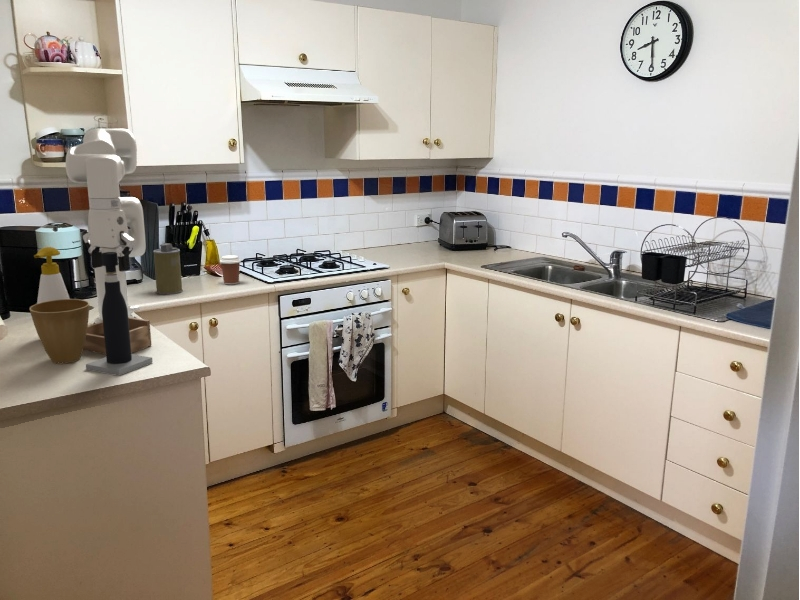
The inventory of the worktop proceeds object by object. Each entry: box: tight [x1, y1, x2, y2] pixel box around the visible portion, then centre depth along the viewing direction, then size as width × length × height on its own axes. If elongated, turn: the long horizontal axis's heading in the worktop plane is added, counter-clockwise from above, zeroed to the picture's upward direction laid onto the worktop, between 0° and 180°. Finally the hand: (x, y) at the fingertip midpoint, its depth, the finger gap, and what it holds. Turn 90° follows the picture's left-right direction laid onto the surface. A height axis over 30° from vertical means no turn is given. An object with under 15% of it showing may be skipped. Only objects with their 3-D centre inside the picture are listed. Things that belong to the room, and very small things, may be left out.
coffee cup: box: [219, 254, 242, 285], centre depth 290 cm, size 9×9×12 cm
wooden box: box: [83, 317, 152, 355], centre depth 197 cm, size 12×16×8 cm
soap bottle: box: [33, 246, 71, 304], centre depth 202 cm, size 13×10×29 cm
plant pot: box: [29, 298, 90, 364], centre depth 185 cm, size 15×15×16 cm
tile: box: [85, 353, 154, 376], centre depth 182 cm, size 12×12×2 cm
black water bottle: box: [102, 252, 133, 364], centre depth 178 cm, size 6×6×30 cm
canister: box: [152, 242, 184, 295], centre depth 272 cm, size 11×10×20 cm
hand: (111, 268), depth 176 cm, fingers open, 9 cm apart
